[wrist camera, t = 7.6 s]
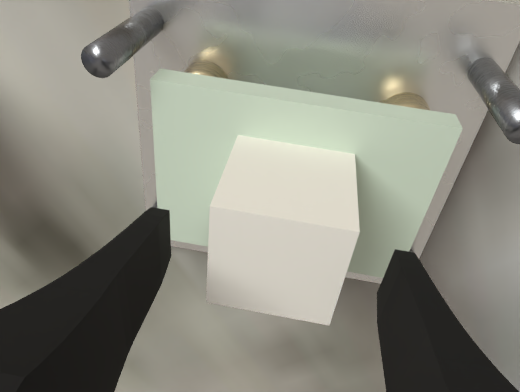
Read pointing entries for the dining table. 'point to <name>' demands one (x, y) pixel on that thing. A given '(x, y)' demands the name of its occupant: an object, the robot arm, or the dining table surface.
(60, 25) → the dining table surface
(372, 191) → the sage board
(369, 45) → the plate
